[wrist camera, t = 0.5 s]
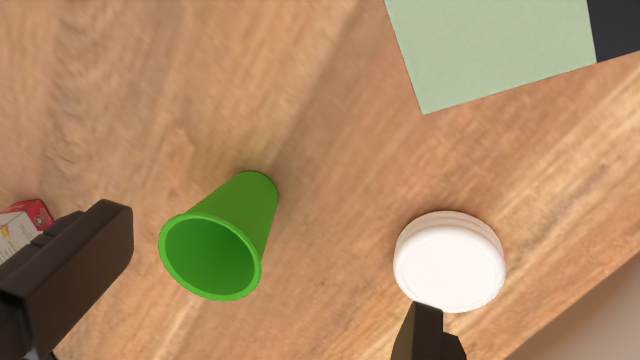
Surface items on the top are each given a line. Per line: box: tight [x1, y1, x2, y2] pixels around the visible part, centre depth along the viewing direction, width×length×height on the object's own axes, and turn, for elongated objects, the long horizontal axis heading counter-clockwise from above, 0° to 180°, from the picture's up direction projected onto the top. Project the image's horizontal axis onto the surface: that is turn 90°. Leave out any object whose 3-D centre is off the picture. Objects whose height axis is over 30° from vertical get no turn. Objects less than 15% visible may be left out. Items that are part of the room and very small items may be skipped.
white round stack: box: [393, 211, 506, 313], centre depth 43 cm, size 10×10×4 cm
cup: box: [158, 171, 278, 301], centre depth 42 cm, size 9×9×11 cm
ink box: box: [0, 199, 54, 265], centre depth 52 cm, size 9×5×12 cm, turn 15°
